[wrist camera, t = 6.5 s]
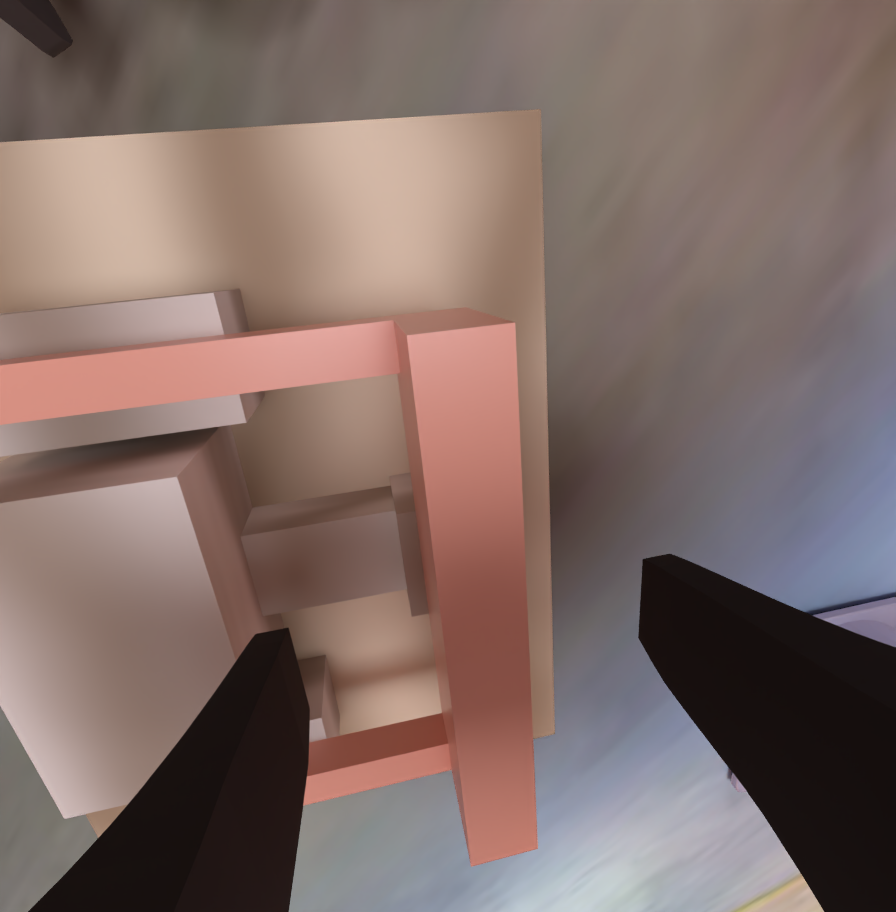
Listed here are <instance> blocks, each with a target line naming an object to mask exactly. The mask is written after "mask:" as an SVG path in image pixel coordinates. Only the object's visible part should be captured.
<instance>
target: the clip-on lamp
mask: <svg viewBox="0 0 896 912" xmlns="http://www.w3.org/2000/svg"><path fill="white" fill-rule="evenodd" d="M0 18H2V19H3V20H4V21H5V22H7V23H8V24H9V25H11V26H12V27H13V28H14V29H16V30H17V31H18V32H19V33H21V34H22V35H23V36H24V37H26V38H27V39H28V40H29V41H31V42H32V43H33V44H34V45H36V46H37V47H38V48H39V49H41V50H42V51H43V52H45V53H47V54H48V55H50V56H52V57H55V56H57V55H58V54H60V53H61V52H62V51H64V50H65V49H66V48H68V47H69V46H71V45H72V41H73V40H72V39H71V37H70V35H69V33H68V31H67V29H66V28H65V26H64V24H63V23H62V21H61V19H60V18H59V16H58V14H57V13H56V11H55V9H54V8H53V6H52V4H51V3H50V1H49V0H0Z"/></svg>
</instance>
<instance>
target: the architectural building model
mask: <svg viewBox="0 0 896 912" xmlns="http://www.w3.org/2000/svg"><path fill="white" fill-rule="evenodd" d="M463 307H467V308H470V309H473V310H477V311H480V312H483V313H486V314H489V315H493V316H496V317H499V318H502V319H505V320H509V321H512V322H515V328H516V352H517V375H518V398H519V422H520V445H521V468H522V492H523V515H524V539H525V562H526V585H527V609H528V632H529V655H530V679H531V702H532V725H533V739H536V738H540V737H544V736H548V735H552V734H555V722H554V677H553V632H552V588H551V543H550V498H549V453H548V408H547V363H546V319H545V274H544V229H543V184H542V139H541V109H537V110H521V111H504V112H488V113H472V114H455V115H439V116H423V117H406V118H390V119H374V120H357V121H341V122H325V123H309V124H292V125H276V126H260V127H243V128H227V129H211V130H194V131H178V132H162V133H145V134H129V135H113V136H96V137H80V138H64V139H47V140H31V141H15V142H0V360H4V359H13V358H22V357H31V356H39V355H48V354H57V353H66V352H75V351H84V350H92V349H101V348H110V347H119V346H128V345H137V344H145V343H154V342H163V341H172V340H181V339H189V338H198V337H207V336H216V335H225V334H234V333H242V332H251V331H260V330H269V329H278V328H286V327H295V326H304V325H313V324H322V323H331V322H339V321H348V320H357V319H366V318H375V317H384V316H392V315H401V314H410V313H419V312H428V311H436V310H445V309H454V308H463ZM288 627H289V631H290V635H291V638H292V642H293V646H294V650H295V654H296V658H297V661H298V665H299V669H300V673H301V677H302V680H303V684H304V688H305V692H306V696H307V699H308V703H309V707H310V731H309V743H310V742H314V741H319V740H323V739H328V738H332V737H336V736H341V735H345V734H350V733H354V732H359V731H363V730H368V729H372V728H377V727H381V726H385V725H390V724H394V723H399V722H403V721H408V720H412V719H417V718H421V717H426V716H430V715H435V714H439V713H442V709H441V701H440V694H439V686H438V678H437V671H436V663H435V656H434V648H433V640H432V633H431V625H430V618H429V610H428V602H427V595H426V587H425V580H424V572H423V565H422V557H421V549H420V542H419V534H418V527H417V519H416V511H415V504H414V496H413V489H412V481H411V473H410V466H409V458H408V451H407V443H406V435H405V428H404V420H403V413H402V405H401V397H400V390H399V382H398V375H397V374H391V375H383V376H375V377H367V378H360V379H352V380H344V381H336V382H329V383H321V384H313V385H305V386H298V387H290V388H282V389H275V390H267V391H259V392H251V393H244V394H236V395H228V396H220V397H213V398H205V399H197V400H189V401H182V402H174V403H166V404H159V405H151V406H143V407H135V408H128V409H120V410H112V411H104V412H97V413H89V414H81V415H73V416H66V417H58V418H50V419H43V420H35V421H27V422H19V423H12V424H4V425H0V706H1V708H2V709H3V711H4V713H5V715H6V716H7V718H8V720H9V722H10V723H11V725H12V727H13V729H14V731H15V732H16V734H17V736H18V738H19V739H20V741H21V743H22V745H23V746H24V748H25V750H26V752H27V753H28V755H29V757H30V759H31V761H32V762H33V764H34V766H35V768H36V769H37V771H38V773H39V775H40V776H41V778H42V780H43V782H44V784H45V785H46V787H47V789H48V791H49V792H50V794H51V796H52V798H53V799H54V801H55V803H56V805H57V806H58V808H59V810H60V812H61V814H62V815H63V817H64V819H66V818H70V817H75V816H79V815H83V814H86V816H87V818H88V820H89V821H90V823H91V825H92V827H93V829H94V831H95V833H96V834H97V836H98V838H99V837H100V836H101V835H102V833H103V832H104V831H105V830H106V829H107V828H108V827H109V826H110V825H111V823H112V822H113V821H114V820H115V819H116V818H117V816H118V815H119V814H120V813H121V812H122V811H123V809H124V808H125V807H126V806H127V805H128V804H129V802H130V801H131V800H132V799H133V798H134V796H135V795H136V794H137V793H138V792H139V790H140V789H141V788H142V787H143V785H144V784H145V783H146V782H147V780H148V779H149V778H150V777H151V775H152V774H153V773H154V772H155V770H156V769H157V768H158V767H159V765H160V764H161V763H162V761H163V760H164V759H165V758H166V756H167V755H168V754H169V753H170V751H171V750H172V749H173V748H174V746H175V745H176V744H177V743H178V741H179V740H180V739H181V737H182V736H183V735H184V733H185V732H186V731H187V729H188V728H189V726H190V725H191V724H192V722H193V721H194V720H195V718H196V717H197V716H198V714H199V713H200V711H201V710H202V709H203V707H204V706H205V705H206V703H207V702H208V700H209V699H210V698H211V696H212V695H213V693H214V692H215V691H216V689H217V688H218V686H219V685H220V683H221V682H222V681H223V679H224V678H225V676H226V675H227V673H228V672H229V671H230V669H231V668H232V666H233V665H234V663H235V662H236V660H237V659H238V657H239V656H240V654H241V653H242V652H243V650H244V649H245V647H246V646H247V644H248V643H249V642H250V640H251V639H252V638H253V636H254V635H255V634H257V633H263V632H268V631H273V630H278V629H283V628H288Z"/></svg>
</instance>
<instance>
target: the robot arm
mask: <svg viewBox="0 0 896 912" xmlns="http://www.w3.org/2000/svg"><path fill="white" fill-rule="evenodd" d="M638 638H639V640H640V641H641V643H642V645H643V647H644V648H645V650H646V652H647V654H648V656H649V657H650V659H651V661H652V663H653V664H654V666H655V668H656V669H657V671H658V673H659V674H660V676H661V678H662V679H663V681H664V683H665V684H666V685H667V687H668V688H669V689H670V691H671V692H672V694H673V695H674V696H675V698H676V699H677V700H678V702H679V703H680V704H681V706H682V707H683V708H684V710H685V711H686V712H687V713H688V715H689V716H690V717H691V719H692V720H693V721H694V723H695V724H696V725H697V727H698V728H699V729H700V731H701V732H702V733H703V735H704V736H705V737H706V738H707V740H708V741H709V742H710V744H711V745H712V746H713V748H714V749H715V750H716V752H717V753H718V754H719V755H720V757H721V758H722V759H723V761H724V762H725V763H726V765H727V766H728V767H729V769H730V770H731V771H732V772H733V773H732V779H731V784H732V785H733V786H734V788H735V789H736V790H737V791H738V792H748V794H749V795H750V797H751V798H752V799H753V801H754V802H755V804H756V805H757V806H758V808H759V809H760V811H761V812H762V813H763V815H764V816H765V818H766V819H767V821H768V823H769V824H770V826H771V827H772V829H773V830H774V832H775V833H776V835H777V837H778V838H779V840H780V841H781V843H782V844H783V846H784V848H785V849H786V851H787V852H788V854H789V855H790V857H791V859H792V860H793V862H794V863H795V865H796V866H797V868H798V869H799V871H800V873H801V874H802V876H803V877H804V879H805V881H806V882H807V884H808V886H809V887H810V889H811V890H812V892H813V894H814V895H815V897H816V899H817V900H818V902H819V904H820V905H821V907H822V909H823V910H824V912H896V597H893V598H888V599H884V600H879V601H875V602H870V603H865V604H861V605H856V606H852V607H847V608H843V609H838V610H834V611H829V612H825V613H820V614H816V615H810V614H807V613H805V612H803V611H800V610H798V609H796V608H793V607H791V606H789V605H786V604H784V603H782V602H779V601H777V600H775V599H772V598H770V597H768V596H766V595H763V594H761V593H759V592H757V591H754V590H752V589H750V588H748V587H746V586H743V585H741V584H739V583H737V582H735V581H732V580H730V579H728V578H726V577H724V576H721V575H719V574H717V573H715V572H713V571H710V570H708V569H706V568H704V567H701V566H699V565H697V564H694V563H692V562H690V561H687V560H685V559H682V558H680V557H677V556H675V555H672V554H666V555H661V556H656V557H651V558H646V559H643V566H642V584H641V601H640V619H639V637H638ZM309 731H310V707H309V703H308V699H307V696H306V692H305V688H304V684H303V680H302V677H301V673H300V669H299V665H298V661H297V658H296V654H295V650H294V646H293V642H292V638H291V635H290V631H289V627H288V628H283V629H278V630H273V631H268V632H263V633H257V634H255V635H254V636H253V638H252V639H251V640H250V642H249V643H248V644H247V646H246V647H245V649H244V650H243V652H242V653H241V654H240V656H239V657H238V659H237V660H236V662H235V663H234V665H233V666H232V668H231V669H230V671H229V672H228V673H227V675H226V676H225V678H224V679H223V681H222V682H221V683H220V685H219V686H218V688H217V689H216V691H215V692H214V693H213V695H212V696H211V698H210V699H209V700H208V702H207V703H206V705H205V706H204V707H203V709H202V710H201V711H200V713H199V714H198V716H197V717H196V718H195V720H194V721H193V722H192V724H191V725H190V726H189V728H188V729H187V731H186V732H185V733H184V735H183V736H182V737H181V739H180V740H179V741H178V743H177V744H176V745H175V746H174V748H173V749H172V750H171V751H170V753H169V754H168V755H167V756H166V758H165V759H164V760H163V761H162V763H161V764H160V765H159V767H158V768H157V769H156V770H155V772H154V773H153V774H152V775H151V777H150V778H149V779H148V780H147V782H146V783H145V784H144V785H143V787H142V788H141V789H140V790H139V792H138V793H137V794H136V795H135V796H134V798H133V799H132V800H131V801H130V802H129V804H128V805H127V806H126V807H125V808H124V809H123V811H122V812H121V813H120V814H119V815H118V816H117V818H116V819H115V820H114V821H113V822H112V823H111V825H110V826H109V827H108V828H107V829H106V830H105V831H104V832H103V833H102V835H101V836H100V837H99V838H98V839H97V840H96V841H95V842H94V843H93V845H92V846H91V847H90V848H89V849H88V850H87V851H86V852H85V853H84V854H83V856H82V857H81V858H80V859H79V860H78V861H77V862H76V863H75V864H74V865H73V866H72V867H71V869H70V870H69V871H68V872H67V873H66V874H65V875H64V876H63V877H62V878H61V879H60V880H59V881H58V882H57V883H56V884H55V885H54V886H53V887H52V888H51V889H50V890H49V891H48V892H47V893H46V894H45V895H44V896H43V897H42V898H41V899H40V900H39V901H38V902H37V903H36V904H35V905H34V906H33V907H32V908H31V909H30V910H29V911H28V912H289V905H290V897H291V890H292V883H293V876H294V868H295V861H296V854H297V847H298V839H299V832H300V825H301V818H302V810H303V803H304V795H305V788H306V780H307V772H308V764H309Z"/></svg>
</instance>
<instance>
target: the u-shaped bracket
mask: <svg viewBox="0 0 896 912" xmlns="http://www.w3.org/2000/svg"><path fill="white" fill-rule="evenodd" d="M391 374H397V375H398V382H399V390H400V397H401V405H402V413H403V420H404V428H405V435H406V443H407V451H408V458H409V466H410V473H411V481H412V489H413V496H414V504H415V511H416V519H417V527H418V534H419V542H420V549H421V557H422V565H423V572H424V580H425V587H426V595H427V602H428V610H429V618H430V625H431V633H432V640H433V648H434V656H435V663H436V671H437V678H438V686H439V694H440V701H441V709H442V713H439V714H435V715H430V716H426V717H421V718H417V719H412V720H408V721H403V722H399V723H394V724H390V725H385V726H381V727H377V728H372V729H368V730H363V731H359V732H354V733H350V734H345V735H341V736H336V737H332V738H328V739H323V740H319V741H314V742H310V743H309V764H308V772H307V780H306V788H305V795H304V803H303V805H307V804H311V803H316V802H320V801H324V800H328V799H332V798H336V797H340V796H345V795H349V794H353V793H357V792H361V791H365V790H370V789H374V788H378V787H382V786H386V785H390V784H395V783H399V782H403V781H407V780H411V779H415V778H419V777H424V776H428V775H432V774H436V773H440V772H444V771H449V770H452V774H453V779H454V784H455V789H456V794H457V799H458V804H459V809H460V814H461V818H462V823H463V828H464V833H465V838H466V843H467V848H468V853H469V858H470V863H471V867H472V866H475V865H479V864H483V863H486V862H490V861H494V860H498V859H501V858H505V857H509V856H512V855H516V854H520V853H524V852H527V851H531V850H535V849H538V842H537V819H536V796H535V772H534V749H533V725H532V702H531V679H530V655H529V632H528V609H527V585H526V562H525V539H524V515H523V492H522V468H521V445H520V422H519V398H518V375H517V352H516V328H515V322H512V321H509V320H505V319H502V318H499V317H496V316H493V315H489V314H486V313H483V312H480V311H477V310H473V309H470V308H467V307H463V308H454V309H445V310H436V311H428V312H419V313H410V314H401V315H392V316H384V317H375V318H366V319H357V320H348V321H339V322H331V323H322V324H313V325H304V326H295V327H286V328H278V329H269V330H260V331H251V332H242V333H234V334H225V335H216V336H207V337H198V338H189V339H181V340H172V341H163V342H154V343H145V344H137V345H128V346H119V347H110V348H101V349H92V350H84V351H75V352H66V353H57V354H48V355H39V356H31V357H22V358H13V359H4V360H0V425H4V424H12V423H19V422H27V421H35V420H43V419H50V418H58V417H66V416H73V415H81V414H89V413H97V412H104V411H112V410H120V409H128V408H135V407H143V406H151V405H159V404H166V403H174V402H182V401H189V400H197V399H205V398H213V397H220V396H228V395H236V394H244V393H251V392H259V391H267V390H275V389H282V388H290V387H298V386H305V385H313V384H321V383H329V382H336V381H344V380H352V379H360V378H367V377H375V376H383V375H391Z"/></svg>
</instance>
